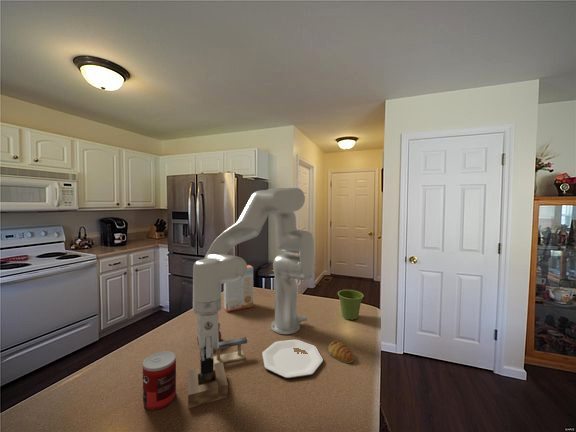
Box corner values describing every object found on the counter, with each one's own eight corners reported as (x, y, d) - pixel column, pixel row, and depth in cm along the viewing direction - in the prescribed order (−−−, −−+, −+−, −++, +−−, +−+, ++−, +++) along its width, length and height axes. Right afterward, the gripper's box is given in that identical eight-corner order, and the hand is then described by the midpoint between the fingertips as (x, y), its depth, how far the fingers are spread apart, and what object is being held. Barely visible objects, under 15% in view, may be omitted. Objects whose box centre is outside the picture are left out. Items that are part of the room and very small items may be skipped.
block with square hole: (222, 373, 76) (222, 362, 76) (227, 397, 67) (227, 384, 67) (187, 382, 72) (187, 370, 72) (188, 408, 63) (188, 395, 63)
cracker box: (249, 303, 131) (250, 264, 130) (253, 307, 125) (253, 267, 124) (223, 307, 124) (223, 266, 123) (225, 312, 119) (226, 269, 118)
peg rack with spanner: (245, 351, 88) (245, 335, 88) (247, 357, 84) (247, 341, 84) (210, 358, 83) (210, 342, 83) (211, 366, 79) (211, 348, 79)
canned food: (151, 389, 69) (150, 351, 69) (180, 387, 70) (180, 350, 69) (136, 411, 62) (136, 369, 61) (169, 410, 62) (169, 368, 62)
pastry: (358, 360, 84) (359, 349, 84) (346, 367, 80) (346, 356, 80) (338, 347, 92) (338, 337, 92) (325, 353, 88) (325, 343, 88)
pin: (211, 372, 71) (212, 338, 71) (212, 379, 68) (213, 344, 68) (200, 374, 70) (200, 340, 70) (200, 382, 67) (200, 346, 67)
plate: (303, 390, 70) (303, 385, 70) (251, 365, 81) (251, 361, 81) (330, 355, 87) (330, 351, 87) (283, 338, 97) (283, 334, 97)
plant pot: (339, 310, 124) (339, 288, 123) (363, 314, 119) (364, 291, 119) (334, 320, 113) (335, 296, 112) (361, 325, 108) (362, 300, 108)
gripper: (225, 314, 62) (224, 384, 63) (217, 292, 77) (217, 349, 78) (193, 319, 59) (193, 392, 60) (192, 295, 74) (191, 354, 75)
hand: (206, 367), depth 69 cm, fingers closed on pin, 3 cm apart
